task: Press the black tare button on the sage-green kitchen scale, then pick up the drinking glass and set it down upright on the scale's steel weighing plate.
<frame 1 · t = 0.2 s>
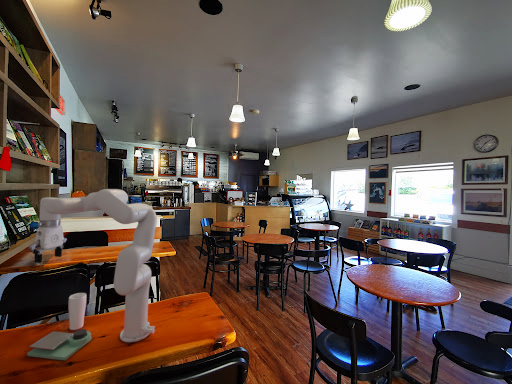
hand: (48, 259, 111), 31 cm above the table, tool pointing down, fingers open, 9 cm apart
tare button: (80, 334, 100), point 4 cm above the table, slide at 0.1 cm
scale: (61, 347, 97), on the table
drinking glass: (76, 327, 110), on the table
scale plate: (52, 340, 96), resting on scale
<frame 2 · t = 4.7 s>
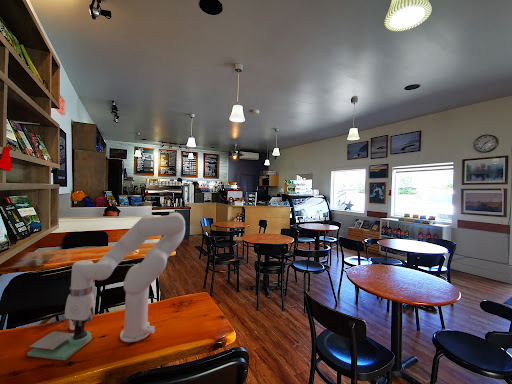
hand: (79, 333, 100), 4 cm above the table, tool pointing down, fingers closed
tare button: (80, 335, 100), point 3 cm above the table, slide at -0.4 cm, touching gripper
everything else where it was.
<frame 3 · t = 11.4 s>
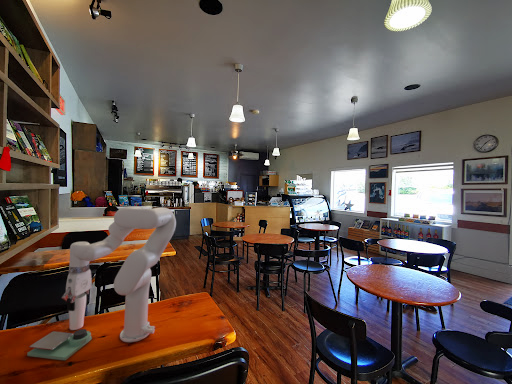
hand: (77, 306, 110), 10 cm above the table, tool pointing down, fingers closed on drinking glass, 6 cm apart
tare button: (80, 334, 100), point 4 cm above the table, slide at 0.1 cm
drinking glass: (76, 327, 110), on the table, touching gripper
when the fingers open (14 cm above the table, at t = 18.2 s): drinking glass stays where it is, resting on scale plate.
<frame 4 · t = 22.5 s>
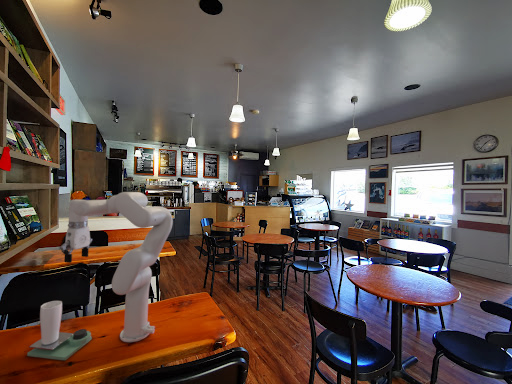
hand: (76, 259, 115), 30 cm above the table, tool pointing down, fingers open, 9 cm apart
drinking glass: (50, 341, 95), point 3 cm above the table, touching scale plate
everything else where it was.
at the end: tare button pushed in 1.1 cm at the most during the clip and back out by the end; drinking glass inside the target area on the scale (2.0 cm from its centre), point 3.2 cm above the scale's base; drinking glass tilted 0° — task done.
